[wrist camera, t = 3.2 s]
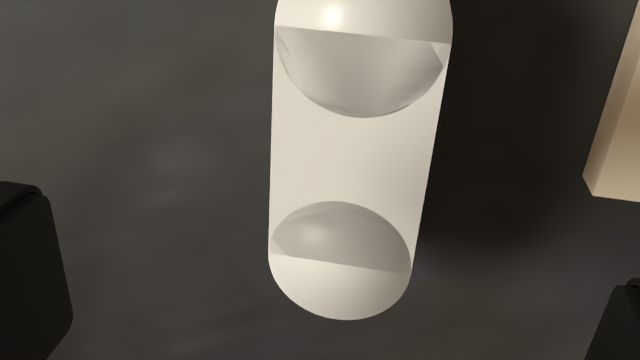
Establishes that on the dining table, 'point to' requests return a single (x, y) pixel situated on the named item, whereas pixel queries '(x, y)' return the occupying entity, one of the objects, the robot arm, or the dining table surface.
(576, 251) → the dining table surface
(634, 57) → the birch board
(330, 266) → the rounded block
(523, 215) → the dining table surface
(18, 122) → the dining table surface
